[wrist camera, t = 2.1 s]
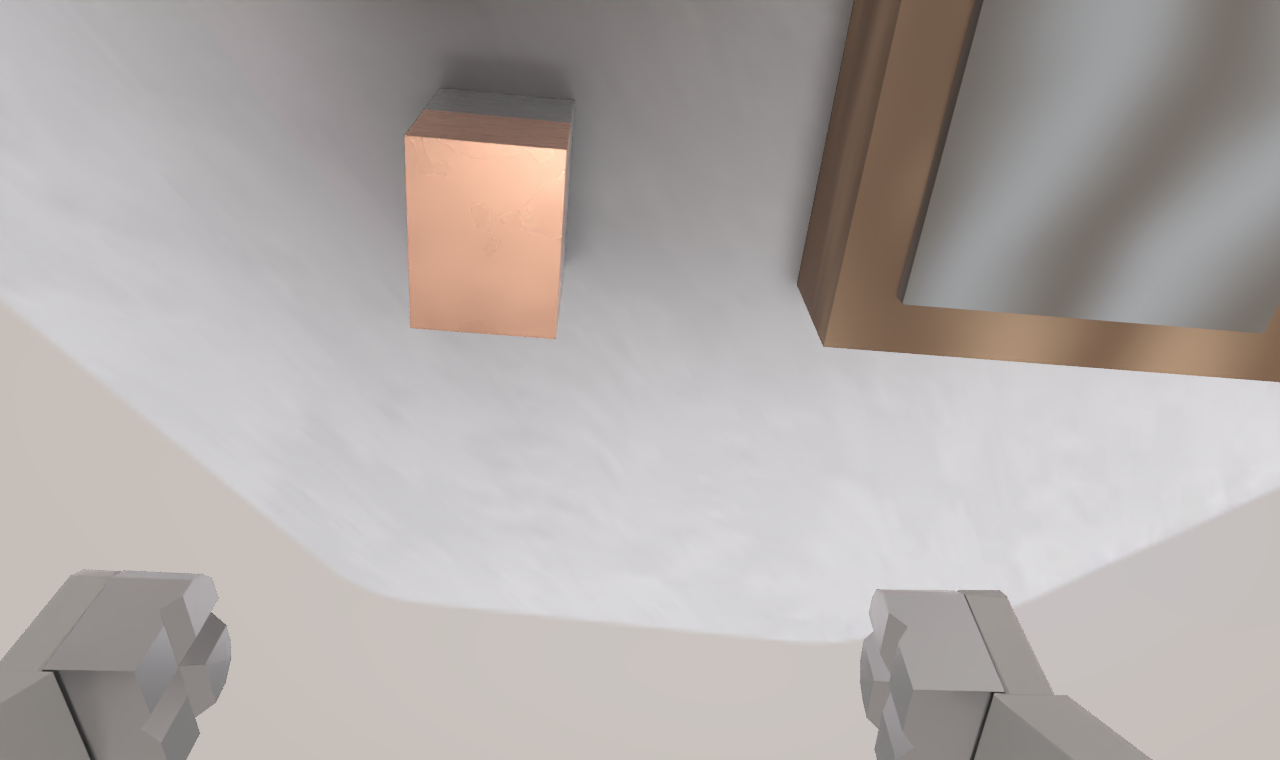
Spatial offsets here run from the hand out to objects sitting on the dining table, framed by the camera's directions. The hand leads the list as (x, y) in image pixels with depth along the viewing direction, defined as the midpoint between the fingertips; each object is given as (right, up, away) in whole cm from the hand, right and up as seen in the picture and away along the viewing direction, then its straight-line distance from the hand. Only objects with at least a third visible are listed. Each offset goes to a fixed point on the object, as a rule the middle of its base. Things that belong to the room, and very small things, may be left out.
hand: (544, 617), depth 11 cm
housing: (-4, +10, +21) cm, 23 cm away
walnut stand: (+16, +13, +20) cm, 28 cm away
